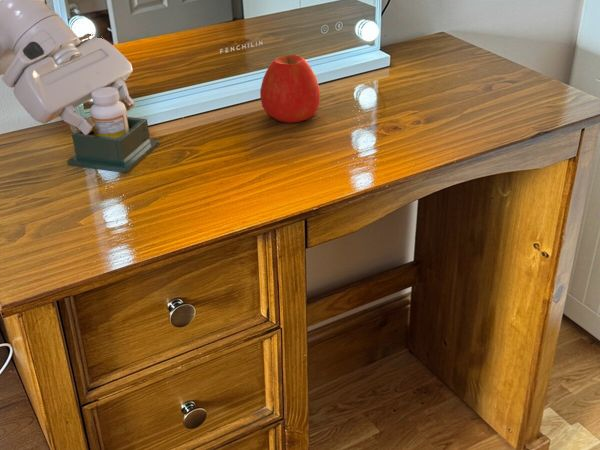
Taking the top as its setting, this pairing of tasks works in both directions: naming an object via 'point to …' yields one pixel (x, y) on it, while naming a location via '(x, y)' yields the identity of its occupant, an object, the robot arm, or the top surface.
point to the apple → (290, 90)
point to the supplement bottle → (108, 113)
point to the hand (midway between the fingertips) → (111, 119)
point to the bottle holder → (113, 148)
